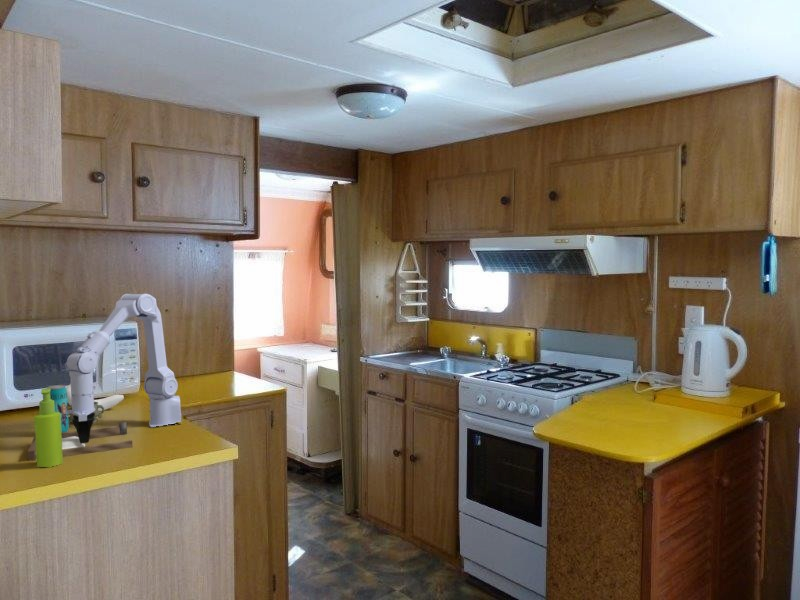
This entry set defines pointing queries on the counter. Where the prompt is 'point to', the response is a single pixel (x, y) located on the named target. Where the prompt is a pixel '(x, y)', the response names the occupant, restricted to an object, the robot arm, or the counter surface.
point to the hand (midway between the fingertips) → (84, 440)
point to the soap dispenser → (48, 433)
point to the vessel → (94, 412)
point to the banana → (99, 400)
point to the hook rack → (93, 434)
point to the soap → (71, 442)
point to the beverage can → (60, 404)
